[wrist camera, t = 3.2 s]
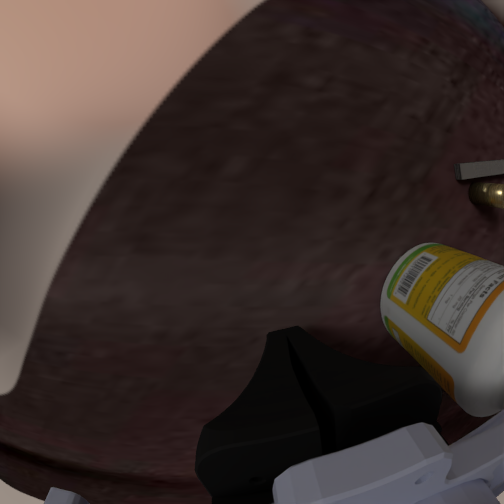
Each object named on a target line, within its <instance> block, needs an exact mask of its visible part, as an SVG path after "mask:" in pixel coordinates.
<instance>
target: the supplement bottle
mask: <svg viewBox="0 0 504 504" xmlns="http://www.w3.org/2000/svg"><path fill="white" fill-rule="evenodd" d="M380 307H381V316H382V320H383V323H384V325H385V327H386V329H387V330H388V332H389V333H390V334H391V335H392V336H393V338H394V339H395V340H396V341H397V342H398V343H399V344H400V345H401V346H402V347H403V348H404V349H405V350H407V351H408V353H409V354H410V355H411V356H412V357H413V358H414V359H415V360H416V361H417V362H418V363H419V364H420V365H421V366H422V367H423V368H424V369H425V370H426V371H427V372H428V373H429V374H430V375H431V376H432V377H433V378H434V380H435V381H436V382H437V383H438V384H439V385H440V386H441V387H442V388H443V389H444V390H445V391H446V393H448V394H449V396H450V397H451V398H452V399H453V400H454V401H455V402H456V403H457V404H458V405H459V406H460V407H461V408H462V409H463V410H464V411H466V412H467V413H468V414H470V415H472V416H476V417H486V416H490V415H493V414H495V413H497V412H499V411H502V410H503V409H504V266H502V265H499V264H496V263H493V262H491V261H488V260H485V259H483V258H480V257H477V256H474V255H472V254H469V253H466V252H463V251H460V250H457V249H454V248H451V247H449V246H445V245H442V244H438V243H424V244H421V245H418V246H416V247H414V248H412V249H411V250H409V251H408V252H406V253H405V254H404V255H403V256H402V257H401V258H400V259H399V260H398V261H397V262H396V264H395V265H394V266H393V268H392V269H391V271H390V273H389V274H388V276H387V278H386V281H385V283H384V286H383V290H382V294H381V304H380Z"/></svg>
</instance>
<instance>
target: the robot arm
mask: <svg viewBox="0 0 504 504" xmlns="http://www.w3.org/2000/svg"><path fill="white" fill-rule="evenodd" d="M441 400H442V389H441V386H440V385H439V384H438V383H437V382H436V381H435V380H434V378H433V377H432V376H431V375H430V374H429V373H428V372H426V371H425V370H424V369H423V368H422V367H405V366H390V365H382V364H376V363H371V362H367V361H363V360H359V359H356V358H353V357H350V356H348V355H345V354H342V353H340V352H338V351H336V350H334V349H332V348H330V347H328V346H326V345H325V344H323V343H322V342H320V341H319V340H317V339H315V338H314V337H313V336H311V335H310V334H308V333H307V332H306V331H305V330H303V329H302V328H301V327H299V326H294V327H290V328H286V329H282V330H278V331H273V332H269V333H268V334H267V341H266V346H265V349H264V352H263V355H262V358H261V361H260V363H259V365H258V368H257V370H256V372H255V374H254V376H253V377H252V379H251V381H250V382H249V384H248V385H247V387H246V388H245V389H244V391H243V392H242V393H241V395H240V396H239V397H238V398H237V399H236V400H235V401H234V402H233V403H232V404H231V405H230V406H229V407H228V408H227V409H226V410H225V411H224V412H222V413H221V414H220V415H219V416H217V417H216V418H214V419H213V420H212V421H210V422H209V423H207V424H206V425H204V426H203V429H202V432H201V435H200V438H199V442H198V445H197V450H196V461H195V472H196V474H197V477H198V478H199V480H200V481H201V483H202V484H203V485H204V487H205V488H206V490H207V491H208V492H209V494H210V495H211V496H212V504H500V502H499V501H498V500H497V498H496V497H497V496H498V495H499V494H501V493H502V492H503V491H504V409H503V410H502V411H501V412H499V413H498V414H497V415H495V416H494V417H493V418H491V419H490V420H488V421H487V422H486V423H484V424H483V425H481V426H480V427H478V428H477V429H475V430H474V431H472V432H471V433H469V434H468V435H466V436H464V437H463V438H461V439H459V440H458V441H456V442H455V443H453V444H451V445H449V444H448V443H447V442H446V440H445V439H444V438H443V436H442V435H441V434H440V432H441V430H442V428H441V426H440V425H439V423H438V422H437V421H436V420H437V416H438V412H439V409H440V405H441ZM44 504H89V503H88V501H87V500H85V499H84V498H83V497H82V496H80V495H79V494H77V493H74V492H71V491H67V490H62V489H59V488H55V487H51V489H50V491H49V493H48V496H47V498H46V500H45V502H44Z"/></svg>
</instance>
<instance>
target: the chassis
mask: <svg viewBox="0 0 504 504" xmlns="http://www.w3.org/2000/svg"><path fill="white" fill-rule="evenodd" d="M454 168H455V175H456V179H457V180H463V179H470V178H477V177H483V176H490V175H498V174H504V159H503V160H491V161H480V162H470V163H460V164H454ZM469 198H470V201H471V202H472V203H473V204H478V205H484V206H491V207H497V208H503V209H504V184H493V183H478V182H473V183H472V184H471V185H470V187H469Z"/></svg>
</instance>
